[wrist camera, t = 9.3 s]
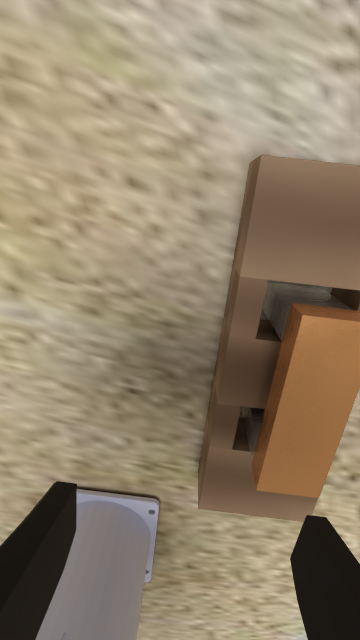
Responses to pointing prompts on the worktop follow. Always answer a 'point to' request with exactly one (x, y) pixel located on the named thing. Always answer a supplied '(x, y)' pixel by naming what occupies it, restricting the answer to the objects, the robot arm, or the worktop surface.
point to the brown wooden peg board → (259, 335)
